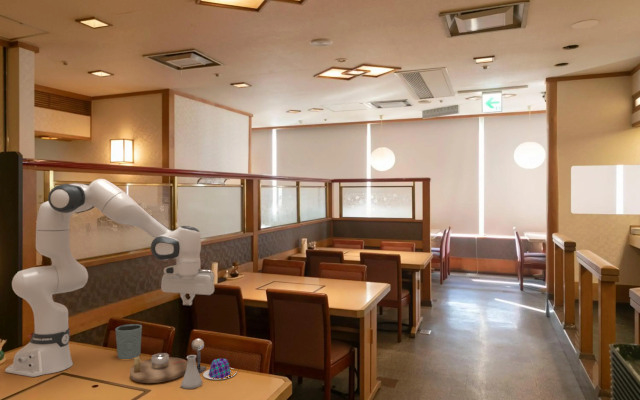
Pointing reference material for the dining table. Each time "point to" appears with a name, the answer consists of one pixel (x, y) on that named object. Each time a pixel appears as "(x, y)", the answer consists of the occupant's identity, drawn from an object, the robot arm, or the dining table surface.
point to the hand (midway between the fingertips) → (187, 304)
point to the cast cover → (160, 361)
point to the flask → (191, 374)
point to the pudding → (218, 369)
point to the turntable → (149, 375)
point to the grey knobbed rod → (198, 352)
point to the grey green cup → (128, 341)
